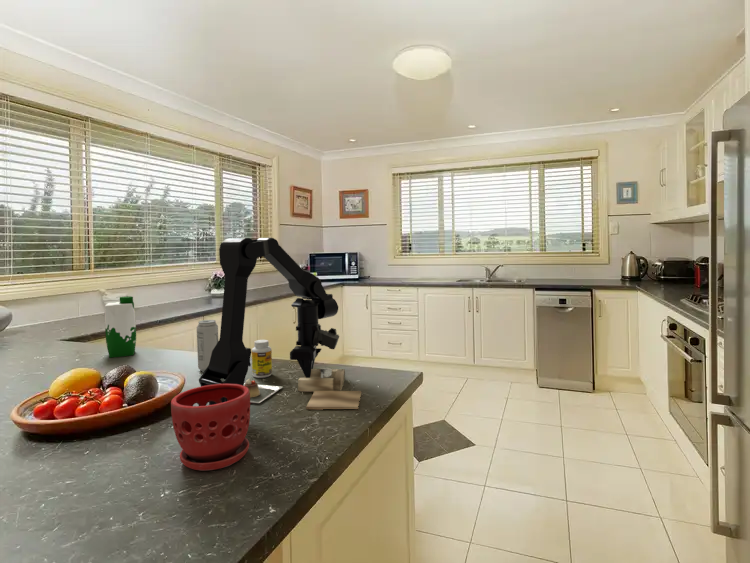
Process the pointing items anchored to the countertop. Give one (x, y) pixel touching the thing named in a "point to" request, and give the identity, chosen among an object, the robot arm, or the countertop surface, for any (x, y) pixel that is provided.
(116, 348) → the milk carton
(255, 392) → the dessert
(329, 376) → the steel post
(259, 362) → the supplement bottle
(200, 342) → the energy drink can
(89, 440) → the countertop surface
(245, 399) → the plant pot
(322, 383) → the c link
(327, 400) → the cork mat
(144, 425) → the countertop surface
